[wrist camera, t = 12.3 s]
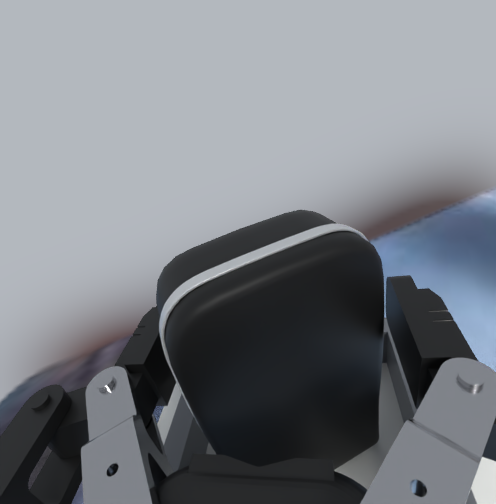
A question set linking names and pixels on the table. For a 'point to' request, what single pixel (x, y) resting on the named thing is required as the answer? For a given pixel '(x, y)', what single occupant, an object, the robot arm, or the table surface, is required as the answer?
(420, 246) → the table surface
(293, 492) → the robot arm
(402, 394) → the charging dock
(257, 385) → the battery charger
